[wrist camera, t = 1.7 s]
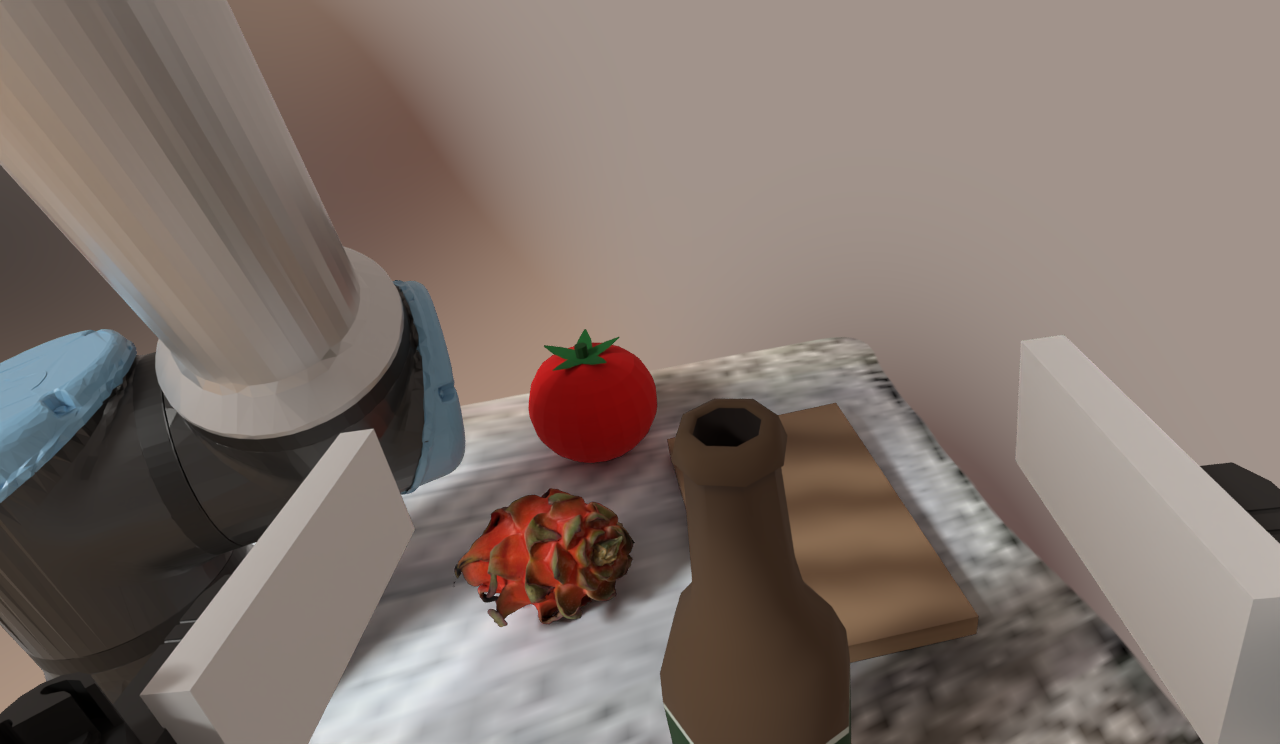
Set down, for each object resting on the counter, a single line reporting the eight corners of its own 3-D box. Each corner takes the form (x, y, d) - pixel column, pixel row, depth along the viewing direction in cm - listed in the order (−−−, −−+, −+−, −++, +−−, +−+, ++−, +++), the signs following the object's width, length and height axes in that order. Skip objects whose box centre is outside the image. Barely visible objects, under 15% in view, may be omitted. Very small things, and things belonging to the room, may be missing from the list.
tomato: (632, 499, 57) (609, 391, 52) (519, 476, 62) (487, 374, 56) (684, 419, 65) (668, 317, 59) (579, 403, 69) (556, 308, 64)
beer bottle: (823, 728, 40) (805, 338, 27) (886, 890, 33) (901, 473, 20) (679, 762, 39) (592, 383, 27) (713, 933, 33) (620, 536, 20)
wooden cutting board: (976, 633, 43) (978, 616, 42) (738, 688, 42) (735, 671, 42) (836, 417, 62) (835, 402, 61) (669, 453, 61) (667, 439, 60)
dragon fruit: (661, 611, 50) (495, 641, 52) (642, 487, 53) (486, 520, 55) (625, 604, 42) (432, 640, 44) (605, 459, 45) (426, 499, 48)
